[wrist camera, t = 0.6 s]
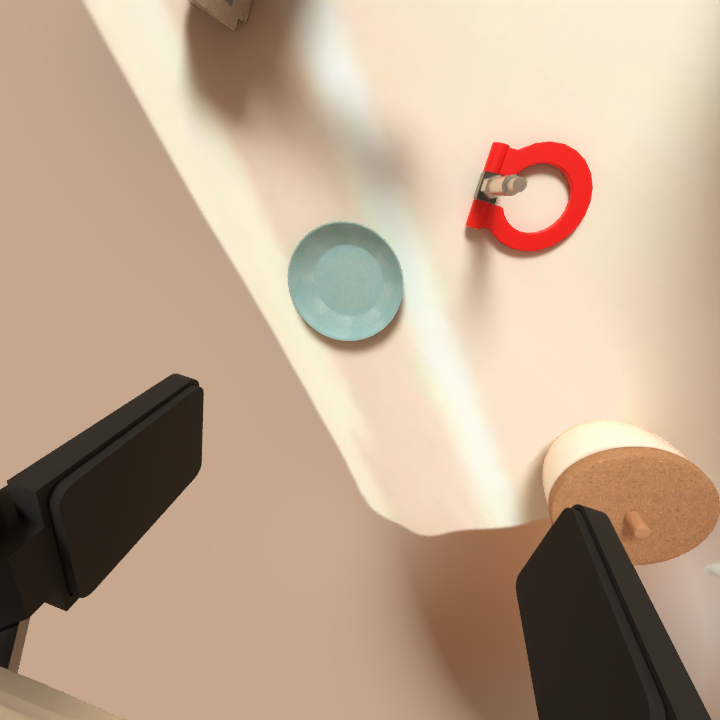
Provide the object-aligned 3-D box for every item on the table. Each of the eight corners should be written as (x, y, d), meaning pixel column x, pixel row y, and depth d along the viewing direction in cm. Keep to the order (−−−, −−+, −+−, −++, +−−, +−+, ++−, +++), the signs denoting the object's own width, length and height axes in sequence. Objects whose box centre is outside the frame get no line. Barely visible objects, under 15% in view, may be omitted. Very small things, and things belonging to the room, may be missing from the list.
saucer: (333, 351, 41) (327, 359, 39) (274, 259, 38) (264, 262, 36) (426, 303, 37) (425, 309, 35) (367, 195, 34) (363, 195, 32)
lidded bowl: (658, 492, 39) (730, 589, 30) (533, 496, 43) (560, 584, 33) (663, 391, 35) (750, 465, 25) (524, 405, 39) (552, 475, 29)
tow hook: (606, 156, 29) (494, 130, 30) (725, 132, 18) (538, 89, 18) (559, 259, 33) (460, 234, 33) (631, 294, 21) (478, 256, 22)
